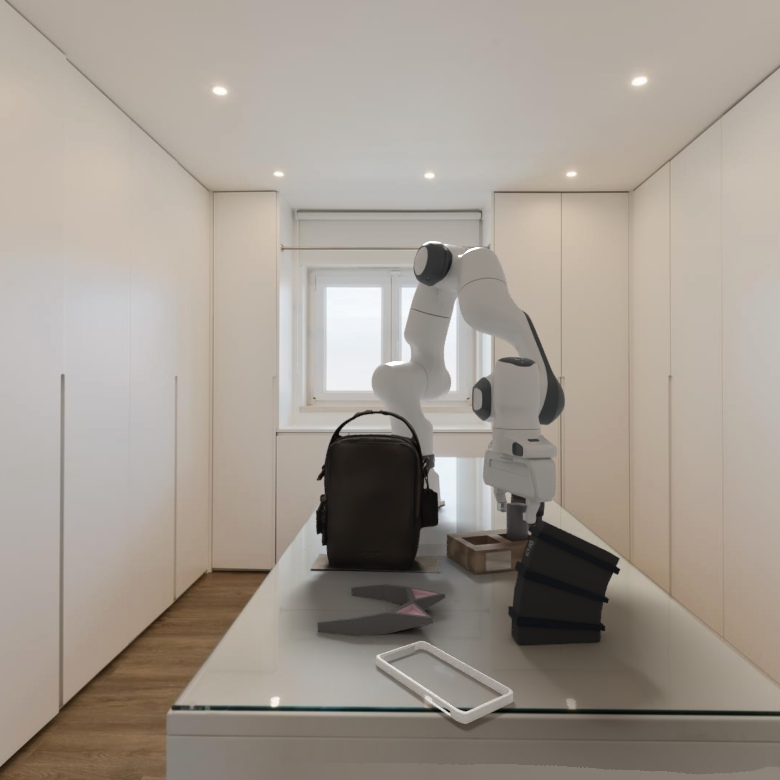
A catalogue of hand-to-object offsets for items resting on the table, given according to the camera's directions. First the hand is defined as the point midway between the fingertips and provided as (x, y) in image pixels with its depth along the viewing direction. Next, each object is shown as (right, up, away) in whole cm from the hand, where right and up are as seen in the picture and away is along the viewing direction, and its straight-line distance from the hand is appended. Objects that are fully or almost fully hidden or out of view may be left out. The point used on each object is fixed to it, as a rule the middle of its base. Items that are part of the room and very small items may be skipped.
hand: (515, 516), depth 107 cm
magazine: (-1, -8, -35) cm, 36 cm away
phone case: (-18, -8, -45) cm, 49 cm away
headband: (-24, -8, -28) cm, 38 cm away
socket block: (-3, -8, -1) cm, 8 cm away
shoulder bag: (-26, -8, -4) cm, 27 cm away
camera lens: (+10, -8, +29) cm, 32 cm away
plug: (0, -8, 0) cm, 8 cm away
